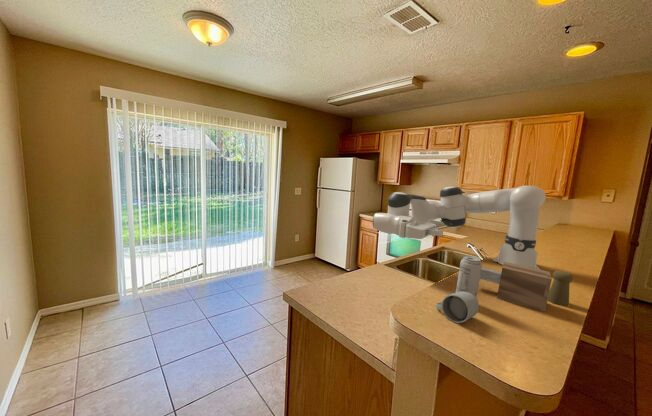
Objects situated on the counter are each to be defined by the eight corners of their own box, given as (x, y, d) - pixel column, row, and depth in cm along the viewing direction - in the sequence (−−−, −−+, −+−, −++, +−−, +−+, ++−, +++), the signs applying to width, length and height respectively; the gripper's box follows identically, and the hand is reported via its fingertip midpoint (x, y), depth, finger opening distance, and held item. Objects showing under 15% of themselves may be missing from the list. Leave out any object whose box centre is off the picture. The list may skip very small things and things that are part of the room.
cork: (573, 307, 90) (580, 276, 89) (552, 304, 91) (559, 273, 90) (561, 299, 96) (567, 270, 95) (542, 296, 97) (548, 267, 96)
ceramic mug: (479, 319, 77) (482, 294, 76) (466, 328, 72) (470, 301, 71) (443, 304, 86) (446, 281, 85) (429, 311, 80) (433, 286, 79)
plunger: (474, 275, 103) (476, 263, 102) (515, 286, 95) (517, 273, 95) (472, 279, 99) (474, 266, 98) (514, 290, 91) (517, 276, 91)
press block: (498, 289, 100) (504, 261, 98) (543, 302, 92) (549, 271, 91) (496, 298, 93) (502, 267, 91) (544, 312, 85) (551, 279, 84)
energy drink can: (478, 308, 84) (486, 262, 82) (459, 306, 85) (466, 260, 82) (469, 299, 90) (476, 256, 88) (451, 297, 91) (458, 254, 88)
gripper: (415, 231, 123) (447, 237, 115) (397, 237, 107) (433, 245, 98) (416, 217, 122) (449, 222, 114) (399, 222, 106) (436, 229, 98)
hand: (442, 233), depth 106 cm, fingers closed
